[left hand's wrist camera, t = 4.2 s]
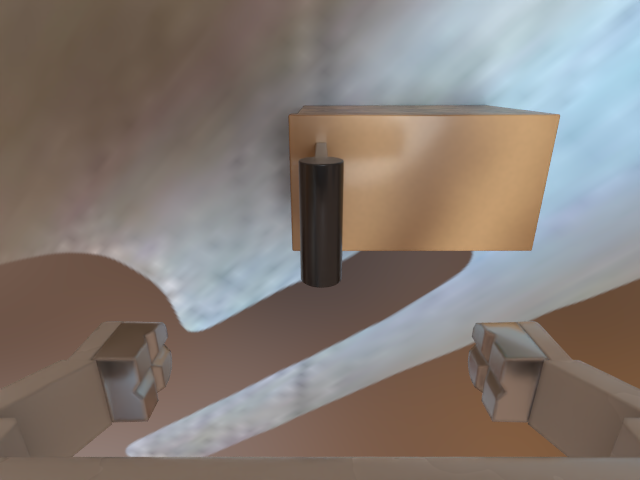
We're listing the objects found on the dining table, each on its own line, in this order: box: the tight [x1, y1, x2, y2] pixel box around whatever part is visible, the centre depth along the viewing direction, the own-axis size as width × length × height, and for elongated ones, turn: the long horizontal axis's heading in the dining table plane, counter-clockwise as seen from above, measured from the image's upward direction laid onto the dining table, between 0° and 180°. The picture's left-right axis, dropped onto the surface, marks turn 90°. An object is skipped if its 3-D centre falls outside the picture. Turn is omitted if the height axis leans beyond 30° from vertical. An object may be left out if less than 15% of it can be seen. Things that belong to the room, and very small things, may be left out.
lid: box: [289, 113, 560, 287], centre depth 23 cm, size 17×9×10 cm, turn 90°
